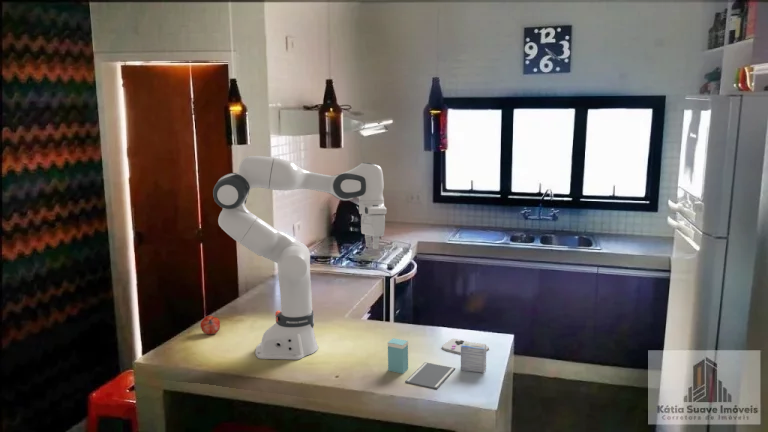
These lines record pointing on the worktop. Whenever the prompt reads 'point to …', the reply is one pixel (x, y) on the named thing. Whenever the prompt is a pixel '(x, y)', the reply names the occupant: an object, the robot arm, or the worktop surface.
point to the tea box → (397, 355)
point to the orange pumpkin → (210, 325)
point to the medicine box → (473, 357)
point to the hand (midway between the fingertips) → (372, 248)
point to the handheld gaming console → (455, 346)
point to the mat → (430, 375)
